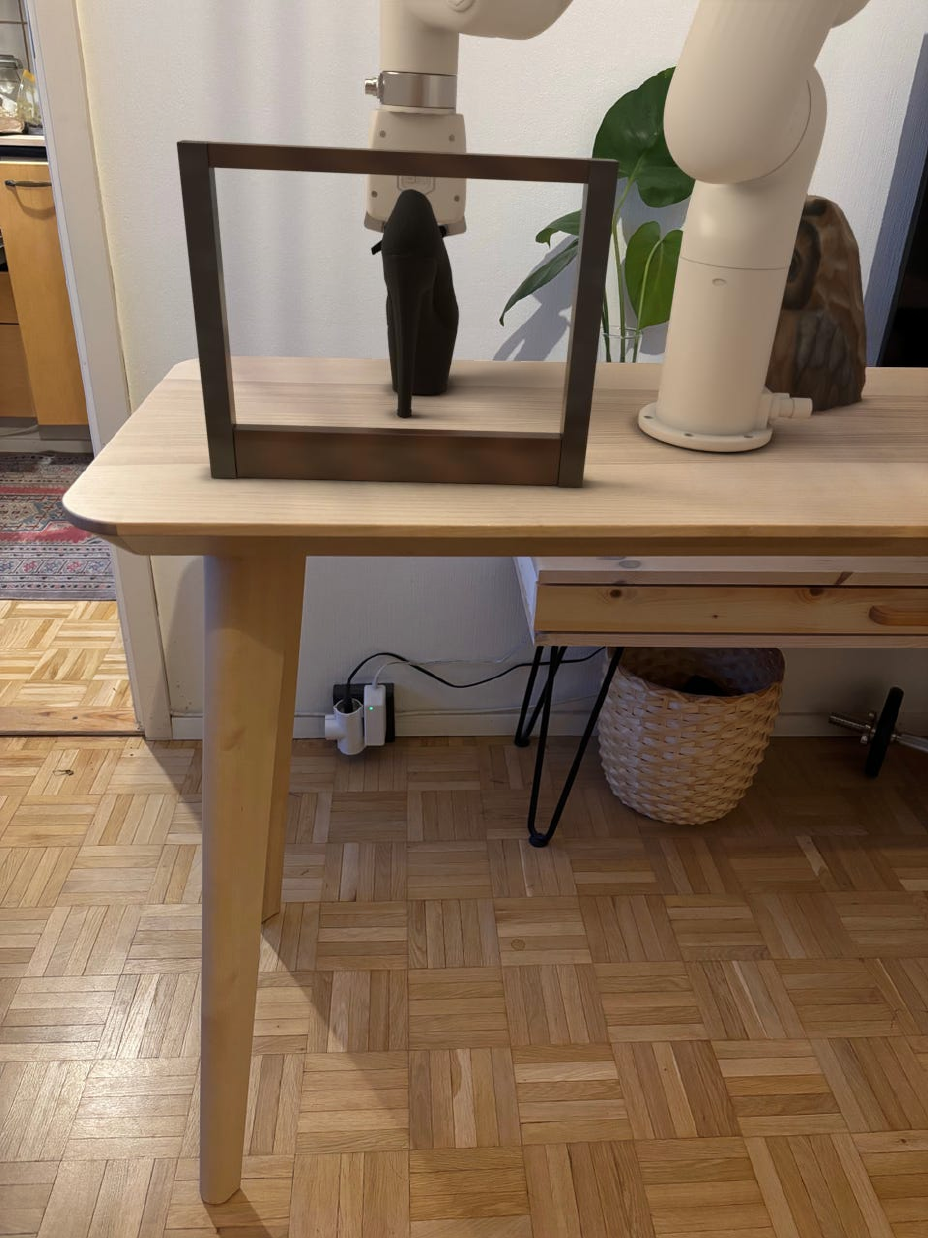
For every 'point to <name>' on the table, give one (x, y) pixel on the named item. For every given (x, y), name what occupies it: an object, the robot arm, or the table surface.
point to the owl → (821, 313)
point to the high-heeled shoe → (417, 300)
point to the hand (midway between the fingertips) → (413, 289)
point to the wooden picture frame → (393, 448)
